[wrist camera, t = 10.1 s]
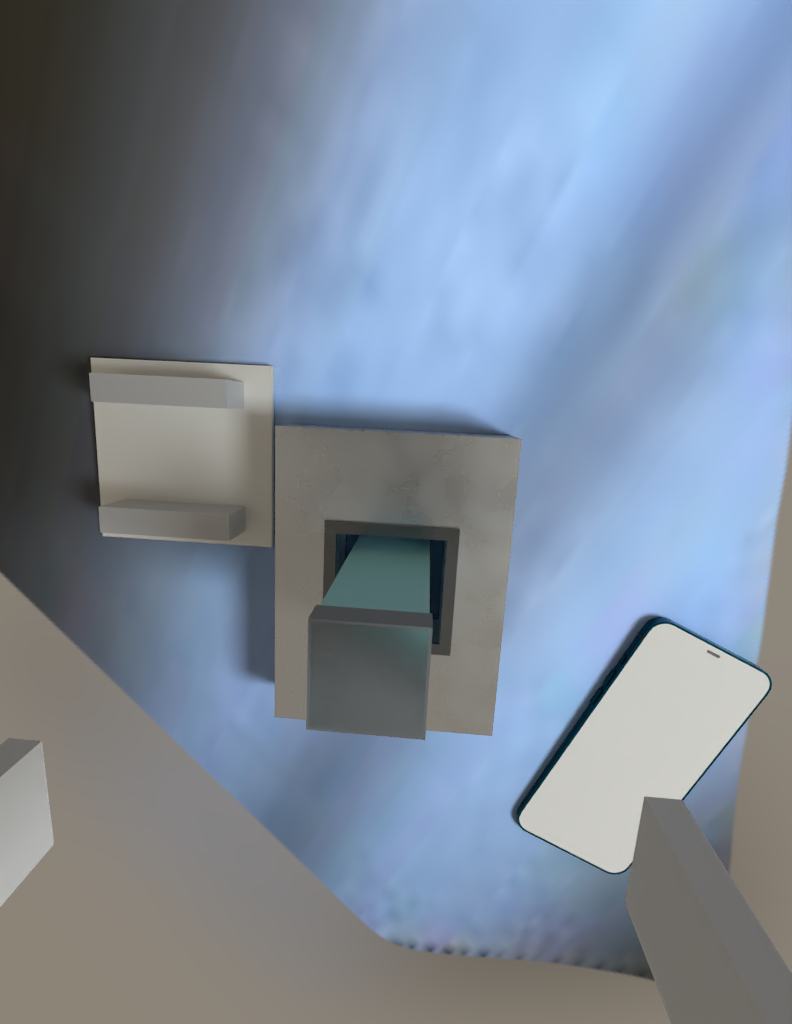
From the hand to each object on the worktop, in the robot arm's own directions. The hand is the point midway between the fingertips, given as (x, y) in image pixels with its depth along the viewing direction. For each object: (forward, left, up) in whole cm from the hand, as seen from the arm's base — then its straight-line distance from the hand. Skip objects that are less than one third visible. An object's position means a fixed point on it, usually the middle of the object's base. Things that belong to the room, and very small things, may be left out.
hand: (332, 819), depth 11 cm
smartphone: (+11, +15, -19) cm, 26 cm away
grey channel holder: (-6, -12, -18) cm, 23 cm away
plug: (0, 0, -18) cm, 18 cm away
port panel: (0, 0, -18) cm, 18 cm away
